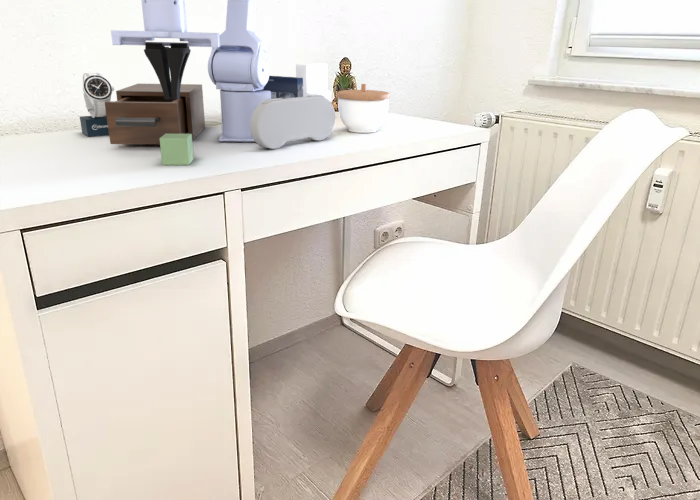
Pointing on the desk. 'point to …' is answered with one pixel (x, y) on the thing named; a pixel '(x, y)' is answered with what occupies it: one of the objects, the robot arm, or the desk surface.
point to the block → (176, 149)
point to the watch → (95, 104)
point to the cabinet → (188, 91)
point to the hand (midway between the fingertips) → (172, 98)
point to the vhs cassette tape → (284, 87)
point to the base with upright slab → (313, 79)
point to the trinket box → (363, 109)
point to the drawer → (145, 119)
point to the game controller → (292, 120)
